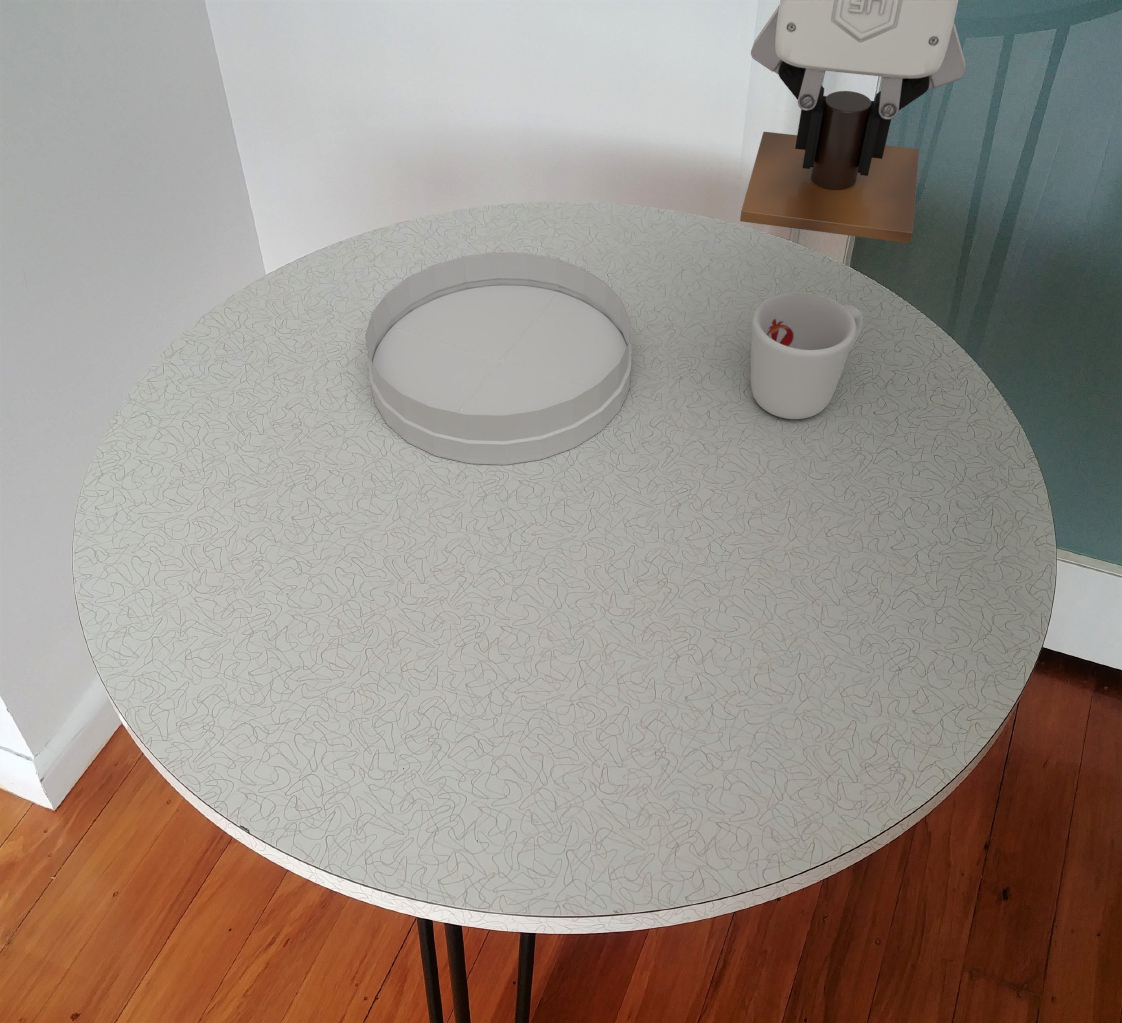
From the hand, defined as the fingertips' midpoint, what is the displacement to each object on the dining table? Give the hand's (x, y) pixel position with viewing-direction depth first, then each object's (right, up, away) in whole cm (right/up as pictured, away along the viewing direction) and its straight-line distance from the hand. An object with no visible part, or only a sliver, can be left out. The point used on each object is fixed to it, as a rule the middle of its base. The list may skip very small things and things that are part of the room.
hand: (837, 159), depth 71 cm
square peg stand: (0, -2, +2) cm, 2 cm away
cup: (+2, -14, +17) cm, 22 cm away
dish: (-24, -12, +19) cm, 33 cm away
